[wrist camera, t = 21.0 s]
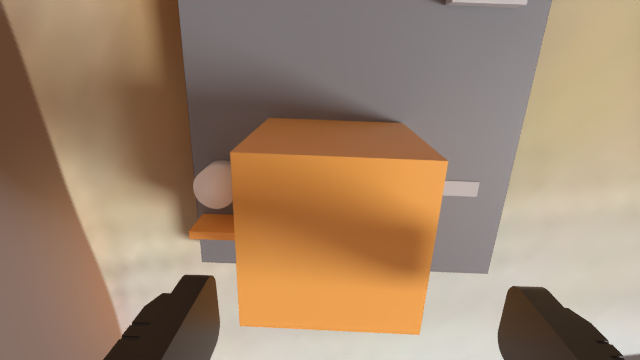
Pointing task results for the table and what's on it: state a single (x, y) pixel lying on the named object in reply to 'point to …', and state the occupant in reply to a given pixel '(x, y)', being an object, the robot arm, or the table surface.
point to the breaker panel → (365, 95)
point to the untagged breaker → (488, 3)
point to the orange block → (335, 225)
